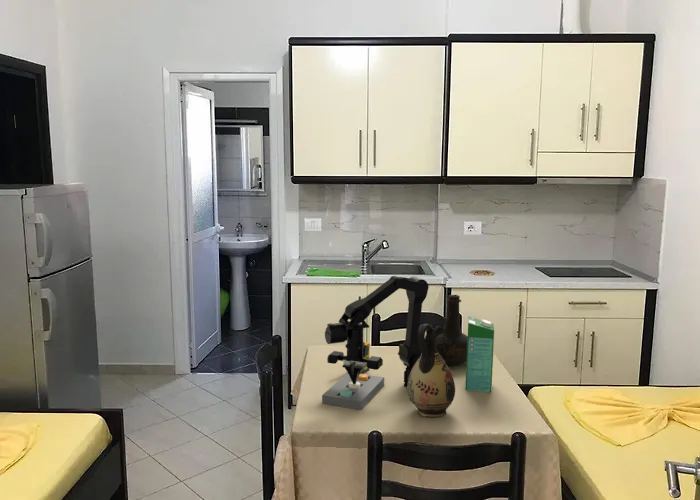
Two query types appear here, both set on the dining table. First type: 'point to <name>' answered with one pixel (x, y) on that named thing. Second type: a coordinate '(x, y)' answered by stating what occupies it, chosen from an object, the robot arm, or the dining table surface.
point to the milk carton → (479, 355)
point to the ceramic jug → (430, 376)
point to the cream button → (354, 385)
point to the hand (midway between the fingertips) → (354, 383)
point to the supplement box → (366, 358)
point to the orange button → (363, 377)
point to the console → (353, 392)
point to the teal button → (346, 393)
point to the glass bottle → (452, 336)
